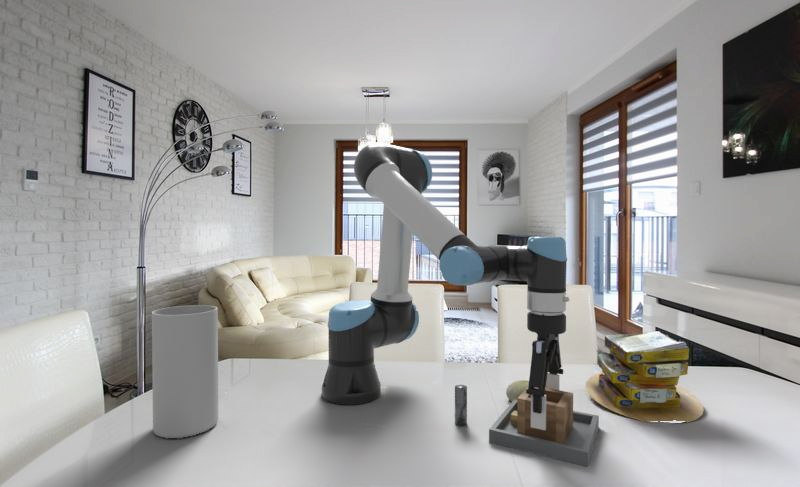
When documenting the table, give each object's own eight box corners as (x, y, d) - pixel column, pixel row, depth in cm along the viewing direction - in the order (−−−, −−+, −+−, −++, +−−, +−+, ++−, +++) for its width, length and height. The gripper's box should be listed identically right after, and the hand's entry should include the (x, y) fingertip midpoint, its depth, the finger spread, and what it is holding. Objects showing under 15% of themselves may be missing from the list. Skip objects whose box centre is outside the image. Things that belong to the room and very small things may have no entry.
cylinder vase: (231, 418, 95) (230, 306, 95) (186, 444, 84) (185, 317, 83) (187, 411, 100) (186, 304, 99) (138, 434, 88) (137, 313, 87)
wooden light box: (564, 444, 82) (564, 407, 82) (505, 429, 88) (505, 395, 88) (573, 426, 89) (573, 393, 89) (518, 414, 95) (518, 383, 95)
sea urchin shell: (552, 402, 100) (527, 377, 101) (527, 424, 101) (503, 399, 102) (547, 388, 109) (524, 365, 110) (524, 408, 110) (501, 385, 111)
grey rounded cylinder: (452, 424, 93) (453, 387, 92) (457, 419, 95) (457, 383, 95) (464, 427, 91) (464, 389, 91) (468, 422, 94) (468, 386, 93)
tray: (488, 441, 85) (489, 429, 85) (514, 409, 100) (514, 399, 100) (587, 466, 76) (587, 452, 76) (598, 427, 91) (598, 415, 91)
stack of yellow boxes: (724, 429, 90) (725, 350, 90) (598, 418, 96) (599, 343, 96) (676, 388, 115) (677, 326, 114) (577, 381, 120) (578, 322, 120)
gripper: (553, 324, 75) (552, 445, 75) (575, 304, 96) (574, 398, 97) (510, 320, 79) (510, 435, 79) (541, 302, 100) (540, 392, 100)
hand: (545, 415), depth 88 cm, fingers open, 13 cm apart
